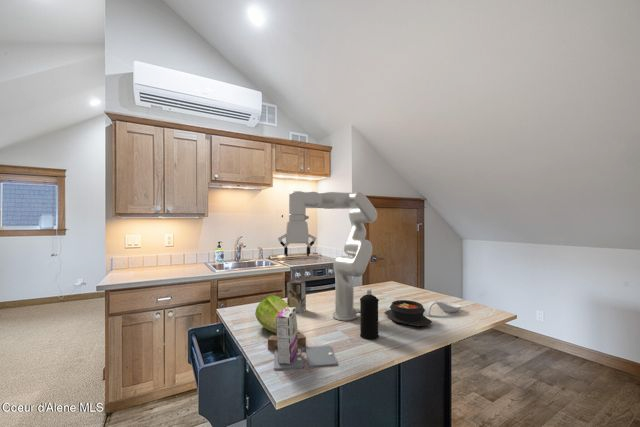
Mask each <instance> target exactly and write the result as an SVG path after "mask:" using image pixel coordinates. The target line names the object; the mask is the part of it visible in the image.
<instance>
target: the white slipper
mask: <svg viewBox="0 0 640 427" xmlns="http://www.w3.org/2000/svg"><path fill="white" fill-rule="evenodd" d="M434 305H437V306H438V307H439V308H440V310H442V311H443V312H445V313H447V312H448V313H449V314H455V313H457V312H458V311H460V310H461V309H462V306H461V305H460V304H456V303H453V302H448V301H438V300H434V299H433V300H430V301H428V302H427V303H426V304H425V306H423V308H424V309H425V312H424V313H423V315H424V316H425V317H426V316H427V317H431V309H432V307H433V306H434ZM454 312H455V313H454ZM448 313H447V314H448Z"/></svg>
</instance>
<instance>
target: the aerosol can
mask: <svg viewBox="0 0 640 427" xmlns="http://www.w3.org/2000/svg"><path fill="white" fill-rule="evenodd" d="M359 302H360V304H359V305H360V308H359V309H360V313H359V314H360V316H359V317H360V319H359V320H360V322H359V324H360V328H359V329H360V332H359V333H360V334H359V336H360V338H361V339H365V340H369V341H373V340H377V339H379V337H380V335H379V302H380V300H379V299H378V297H376V295H374V294H372V289H366V294H364V295H363V296H361V297H360V299H359Z"/></svg>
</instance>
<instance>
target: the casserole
mask: <svg viewBox="0 0 640 427" xmlns="http://www.w3.org/2000/svg"><path fill="white" fill-rule="evenodd" d="M424 312H425V309H424V305H423V304H422V303H420V302H418V301H413V300H408V299H398V300H397V299H396V300H394V301H392V302H391V305H390V306H389V309H388V310H386V311H384V312H383V313H384V314H385V315H386V316H387V317H388V318H389V319H391V320H392V321H394V322H397V323H399V324H403V325H408V326H409V325H410V326H415V327H425V326H429V325H431V324H432V323H433V320H431V319H430V318H428V317H426V315H424V314H423V313H424Z"/></svg>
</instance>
